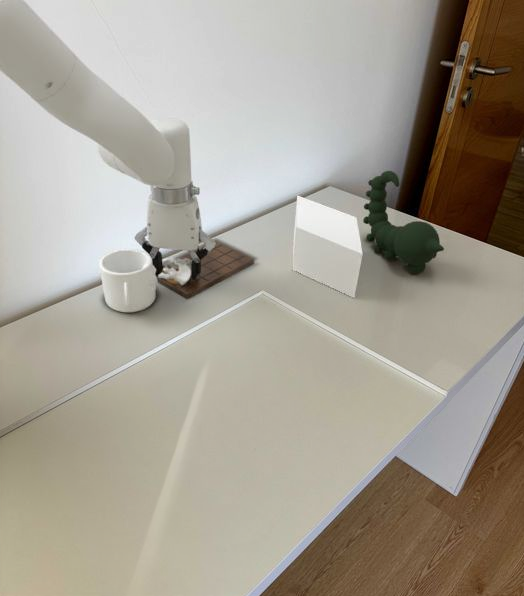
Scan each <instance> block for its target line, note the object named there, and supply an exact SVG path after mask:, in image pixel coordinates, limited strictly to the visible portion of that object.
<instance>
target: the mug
mask: <svg viewBox="0 0 524 596" xmlns="http://www.w3.org/2000/svg"><path fill="white" fill-rule="evenodd" d="M98 267H99V273H100V279H101V285H102V291H103V296H104V300H105V303H106V305H107V306H108V307H109V308H111V309H112V310H114V311H117V312H121V313H137V312H140V311H143V310H145V309H147V308H149V307H150V306H151V305H152V304H153V303H154V302H155V300H156V290H157V286H156V285H157V284H158V280H157V277H156V275H155V273H156V268H155V267H154V266H153V263H152V258H151V256H150V255H149V254H148V253H147V252H146V251H145V250H140V249H135V248H121V249H116V250H112V251H110V252H107V253H106V254H104V255H103V256H102V257H100V259H99V262H98Z"/></svg>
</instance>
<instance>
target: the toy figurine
mask: <svg viewBox="0 0 524 596" xmlns="http://www.w3.org/2000/svg"><path fill="white" fill-rule="evenodd" d="M390 182H392V183H393V184H394V186H395V187H397V188H398V187H400V179H399V176H398V175H397V174H396V173H395V172H394V171H392V170H386V171H383V172H381V174H380V175H376V176H375V177H373V178H372V179H368V182H367V184H368V186H370V190H367V191H366V192H365V196H366V197H367V198H369V200H370V201H369V202H368V203H367V202H366V203H365V204H363V209H364V210H367V211H368V215H367V216H365V217H364V218H363V220H362V221H363V223H364V224H366V225H369V226H370V227H371V228H370V233H367V234H366V237H365V239H366V241H367V242H369V243H372V242H374V241H375V244H376V245H375V246H374V248H373V250H374V253H376V254H378V255H380V254H382V253H383V252H384V254H383V255H384V259H385V260H386V261H388V262H391V261H395V260H396V259H397V258H398V259H399V260H400V261H401V262H403V263H404V264H405V265H406V271H407V272H408V273H409V274H413V275H416V274H420V273H422V272H424V271H425V270H426V264H428V263H430V262H431V261H432V260H433V259H436V258H437V255H438V253H439V252H443V251H444V250H445V248H444V246H442V245H441V243H440V241H441V240H440V236H439V234H438V231H437V230H436V228H435V227H434V226H433V225H432V224H430V223H429V222H426V221H420V220H415V221H411V222H409V223H406V224H404V225H402V226H401V225H399V226H396V225H394V224H392V223H391V222H390V221H389V215H388V213H387V208H388V205H387V201H386V198H387V197H388V193H387V190H386V188H387V184H388V183H390Z"/></svg>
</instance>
